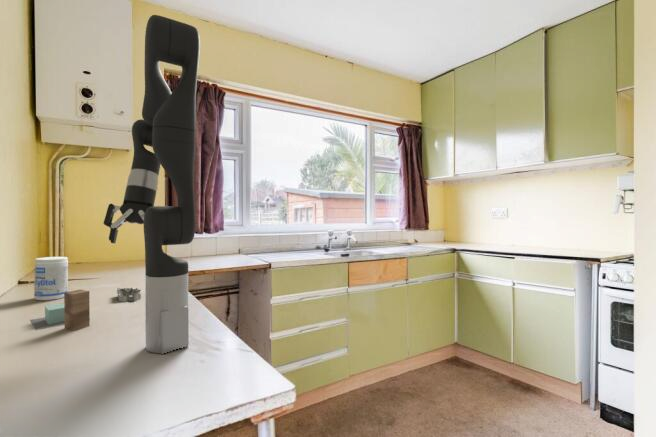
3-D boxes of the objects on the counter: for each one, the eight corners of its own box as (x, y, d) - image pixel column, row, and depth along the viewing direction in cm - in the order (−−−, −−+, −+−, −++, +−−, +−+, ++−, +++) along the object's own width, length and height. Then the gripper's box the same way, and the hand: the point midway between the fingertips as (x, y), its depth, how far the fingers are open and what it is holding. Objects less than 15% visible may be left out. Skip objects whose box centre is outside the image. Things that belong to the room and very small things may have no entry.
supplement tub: (30, 302, 118) (30, 260, 118) (38, 296, 126) (38, 257, 126) (65, 299, 123) (65, 258, 122) (70, 293, 131) (70, 255, 131)
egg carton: (141, 301, 122) (141, 290, 122) (116, 304, 118) (116, 292, 118) (139, 294, 131) (139, 284, 131) (116, 297, 127) (116, 286, 127)
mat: (90, 320, 99) (90, 319, 99) (36, 331, 90) (36, 329, 90) (80, 312, 107) (80, 311, 107) (30, 321, 98) (30, 319, 98)
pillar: (89, 326, 94) (89, 291, 93) (73, 331, 90) (73, 294, 90) (80, 325, 95) (80, 289, 95) (64, 329, 91) (64, 292, 91)
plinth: (75, 319, 99) (75, 306, 99) (48, 324, 94) (48, 310, 94) (70, 315, 103) (70, 302, 103) (45, 319, 98) (45, 306, 98)
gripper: (109, 180, 90) (96, 240, 87) (167, 188, 95) (157, 246, 91) (116, 187, 97) (104, 243, 94) (170, 195, 101) (161, 249, 98)
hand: (130, 244), depth 92 cm, fingers open, 8 cm apart
